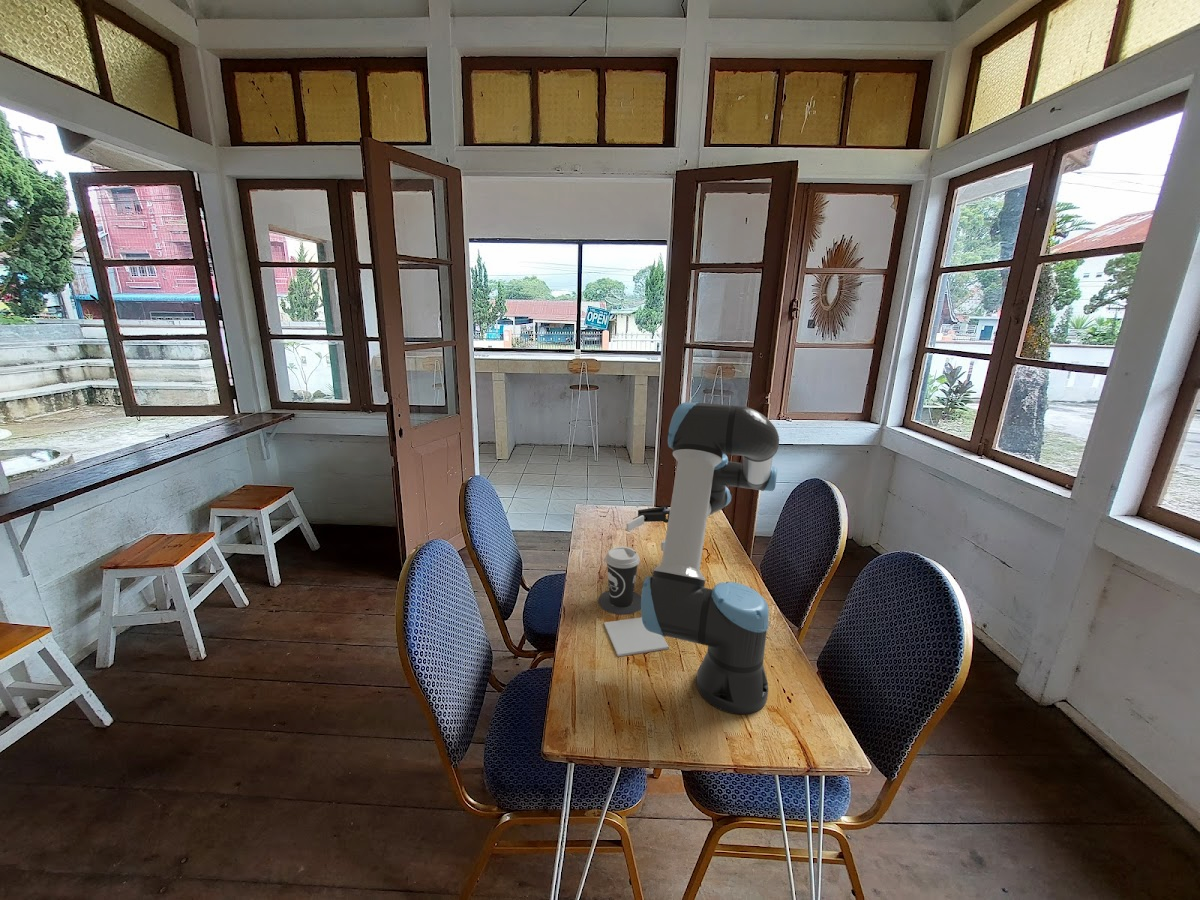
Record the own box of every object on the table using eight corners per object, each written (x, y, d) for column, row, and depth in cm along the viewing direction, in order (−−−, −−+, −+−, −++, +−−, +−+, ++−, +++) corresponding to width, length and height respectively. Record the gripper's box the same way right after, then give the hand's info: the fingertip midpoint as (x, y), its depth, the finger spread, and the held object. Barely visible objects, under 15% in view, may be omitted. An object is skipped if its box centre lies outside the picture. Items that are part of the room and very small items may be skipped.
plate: (668, 648, 122) (668, 646, 121) (617, 656, 118) (617, 654, 118) (650, 618, 134) (650, 616, 134) (603, 624, 131) (604, 622, 130)
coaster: (650, 611, 137) (650, 611, 137) (604, 617, 134) (604, 617, 134) (635, 586, 149) (635, 586, 149) (593, 591, 146) (593, 591, 146)
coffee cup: (635, 612, 136) (637, 563, 132) (601, 608, 138) (602, 559, 134) (639, 594, 145) (642, 547, 141) (607, 590, 147) (608, 543, 143)
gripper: (725, 537, 146) (677, 567, 133) (662, 506, 163) (614, 530, 151) (727, 515, 143) (678, 543, 130) (662, 486, 160) (614, 508, 148)
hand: (644, 536), depth 140 cm, fingers open, 13 cm apart
